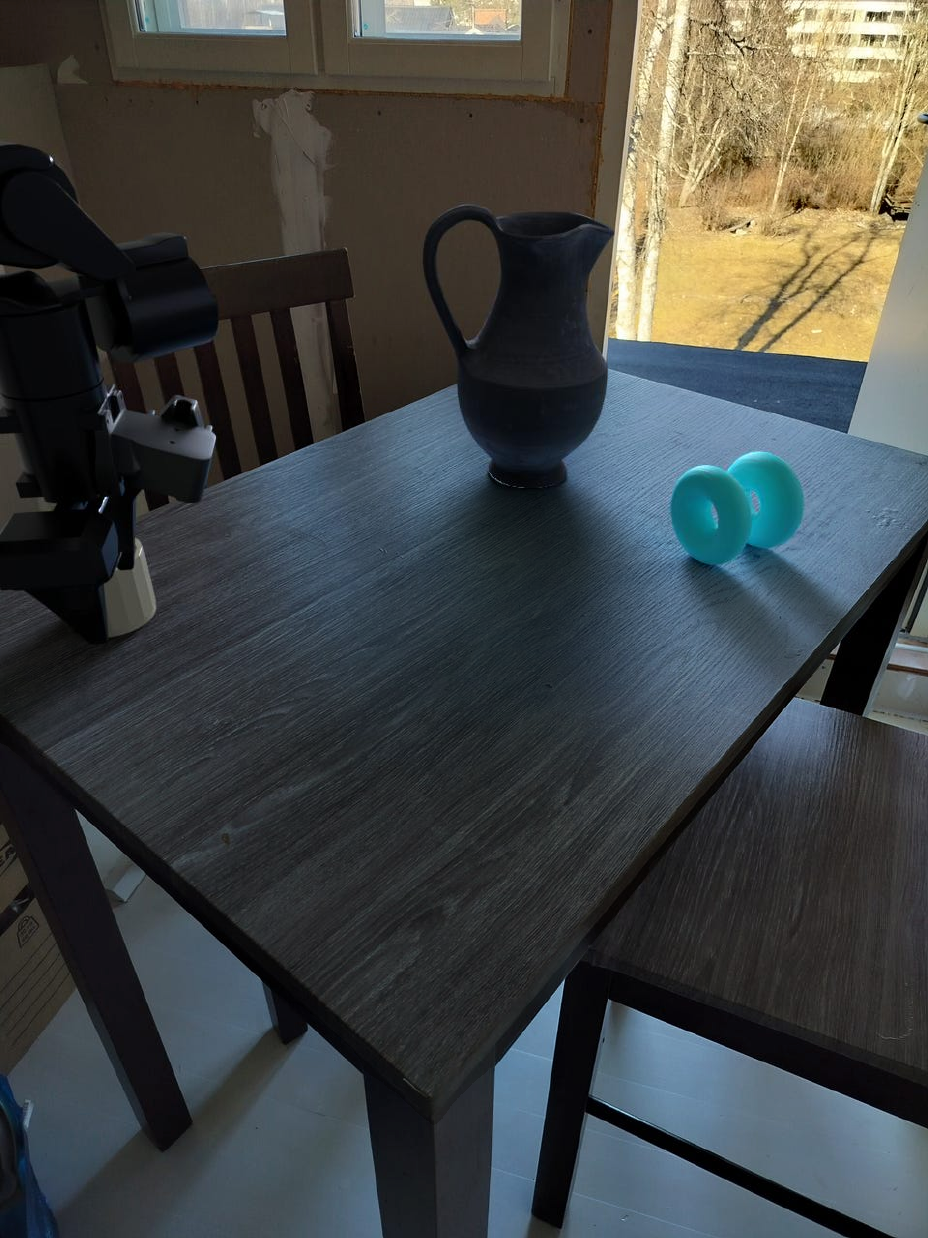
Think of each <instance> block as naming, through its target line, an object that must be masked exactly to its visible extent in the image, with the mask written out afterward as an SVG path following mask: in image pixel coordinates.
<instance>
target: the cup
mask: <svg viewBox="0 0 928 1238" xmlns="http://www.w3.org/2000/svg"><path fill="white" fill-rule="evenodd" d="M147 563H148V562H147V559H146V554H145V551H144V547H143V544H142V542H141V540H140V539H138V538H137V537H135V565H134V568H133V569H132V570H119V569H118V568H117V567H116V570H115V573H114V575H113V577H112V578H111V579H110V580H109V581H108V582H107V583H105V584H104V589H105V600H106V610H107V620H108V638H114V637H120V636H123V635H126V634H129V633H131V632H134V631H136V630H138V629H141V627H144V625H146V624H148V622H150V621H151V619H152V618H153V617H154V616H155V614H156V611H157V600H156V599H157V598H156V596H155V591H154V587H153V583H152V579H151V575H150V571H149V567H148V564H147Z"/></svg>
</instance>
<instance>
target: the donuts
mask: <svg viewBox="0 0 928 1238" xmlns="http://www.w3.org/2000/svg"><path fill="white" fill-rule="evenodd" d="M752 492H753V493H754V494H755V496H756V497H757V499H758V503H759V511H758V512H757V510H756V508H755V506H754V504H753V498H752ZM712 506H713V507H714V509H715V512H716V515H717V521H716V519H715V517H714V515H713V512H712V511H713V509H712ZM804 511H805V497H804V492H803V487H802V484H801V482H800V479H799V477H798V476H797V474H796V472H795V470H794V469H793V467H791V465H790V464H789V463H787V461H785V460H784V459H783V458H782V457H780V456H778V455H776V454H775V453H774V454H773V453H771V452H768V451H751V452H748V453H745V454H743V455H742V456H740V457H738V458H737V459H736V460H734V462H733V463H732V464H731V465H730V466H729V468H728V469H727V470H725V469H723V468H721V467H718V466H716V465H709V464H708V465H705V464H704V465H698V466H694V467H692V468H690V469H688V470H687V471H686V472H684V473H683V474H682V475H681V476H680V478H678V480H677V481H676V482H675V485H674V487H673V490H672V493H671V497H670V503H669V512H670V513H669V514H670V521H671V526H672V529H673V532H674V534H675V538H676V539H677V541H678V542H679V544H680V546H681V547H682V548H683V549H684V551H685V552H686V553H688V555H689V556H691V557H692V558H693V559H695V560H696V561H698V562H700V563H703V564H706V565H712V566H718V565H724V564H727V563H729V562H731V561H733V560H734V559H736V558H737V557H738V556H739V555H741V553H742V551H743V550H744V549H745V547H746V546H747V545H750V546H752V547H756V548H759V549H772V548H773V549H774V548H777V547H779V546H781V545H783V544H785V543H786V542H788V541H789V540H791V539H792V537H794V535H795V534H796V532H797V531H798V529H799V528H800V525H801V524H802V521H803V517H804Z"/></svg>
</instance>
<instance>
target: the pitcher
mask: <svg viewBox="0 0 928 1238" xmlns="http://www.w3.org/2000/svg"><path fill="white" fill-rule="evenodd" d="M464 221H472V222H473V221H474V222H480V223H481V224H483V225H485V226H486V227H487V228H488V229H489V230H490V231H491V234H492V236H493V237H494V239H495V240H494V241H495V242H496V246H497V247H496V248H497V252H498V258H499V267H500V275H499V277H500V278H499V283H498V288H497V291H496V295H495V297H494V300H493V302H492V305H491V308H490V311H489V313H488V315H487V317H486V320H485V321H484V323H483V325H482V327H481V329H480V331H479V332H478V334H477V335H476V336H475V337H474V338H473V339H471V340H467V339H466V338H465V336H464V334H463V332H462V330H461V329H460V326H459V324H458V322H457V321H456V318H455V316H454V313H453V311H452V308H451V307H450V305H449V303H448V300H447V298H446V295H445V292H444V290H443V288H442V285H441V283H440V279H439V274H438V269H437V252H438V249H439V244H440V243H441V242H440V241H441V240H442V238H443V236H444V235H445V234H446V233H447V232H448V231H449V230H450V229H452V228H454V227H455V226H456V225H458V224H460V223H462V222H464ZM613 236H615V229H614V228H613V227H611V226H610V225H608V224H606V223H604V222H602V221H599V220H597V219H594V218H592V217H589V216H586V215H585V214H584V215H583V214H580V213H576V212H570V211H527V212H518V213H517V212H515V213H509V214H503V215H499V216H495V214H494V213H492V212H491V211H490V209H489V208H487V207H484V206H481V205H476V204H462V205H458V206H455V207H452V208H450V209H448V210H446V211H444V212H443V213H441V214H440V215H439V216H438V217H437V218H436V219H435V220H434V221H433V222H432V223H431V225H430V226H429V228H428V230H427V232H426V234H425V238H424V242H423V249H422V269H423V275H424V279H425V283H426V287H427V289H428V292H429V296H430V299H431V301H432V304H433V306H434V308H435V310H436V313H437V315H438V317H439V320H440V323H441V324H442V326H443V329H444V331H445V332H446V336H447V337H448V339H449V341H450V344H451V346H452V349H453V351H454V354H455V358H456V363H457V375H456V377H457V379H456V385H457V387H456V388H457V399H458V404H459V409H460V413H461V416H462V419H463V422H464V425H465V427H466V428H467V430H468V432H469V434H470V436H471V437H472V439H473V440H474V442H475V443H476V444H477V445H478V446H479V447H480V448H481V449H482V450H483V451H484V452H485V453H486V455H487V456H488V457H489V458H491V460H490V462H489V463H488V466H489V472H490V473H491V474H492V476H493V477H494V478H496V479H497V480H499V481H501V482H502V483H505V484H508V485H510V486H516V487H524V488H540V487H541V489H543V488H542V487H546V486H550V485H553V484H556V483H558V482H559V483H561V482H562V481H563V480H564V479H565V478H566V477H567V475H568V468H567V466H566V464H565V461H564V459H565V458H566V457H568V456H569V455H570V454H572V453H573V452H575V450H577V449H578V448H579V447H580V446H581V445H582V444H584V442H585V441H587V439H588V438H589V437H590V435H591V434H592V432H593V430H594V429H595V427H596V425H597V423H598V422H599V419H600V416H602V412H603V409H604V404H605V399H606V396H607V389H608V379H609V366H608V363H607V360H605V357H604V356H603V354H602V352H601V351H600V349H599V348H598V347H597V344H596V342H595V340H594V337H593V334H592V331H591V326H590V322H589V318H588V317H589V316H588V311H587V299H586V298H587V297H586V295H587V294H586V289H587V288H586V287H587V283H588V280H589V278H590V274H591V272H592V270H593V268H595V267H594V266H595V264H596V263H597V261H598V260H599V258H600V256H601V254H602V253H603V251H604V249H605V248H606V247H607V245H608V244H609V241H610V240H611V239H612V238H613ZM566 474H567V475H566ZM561 480H562V481H561ZM560 481H561V482H560ZM559 483H558V484H559ZM556 485H557V484H556ZM553 486H554V485H553ZM550 487H551V486H550ZM546 488H547V487H546Z"/></svg>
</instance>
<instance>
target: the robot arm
mask: <svg viewBox="0 0 928 1238" xmlns="http://www.w3.org/2000/svg"><path fill="white" fill-rule="evenodd" d="M187 242H188V241H187V238H186V237H185V236H183V235H180V234H177V233H173V232H169V231H161V232H155V233H151V234H148V235H146V236H143V237H142V238H140V239H136V240H131V241H125V242H120V243H115V241H114V240H112V238H111V237H110V236H108V234H107V233H106V232H105V231H104V230H103V229H102V228H101V227H100V226H99V224H97V223H96V222H95V221H94V220H93V219H92V217H91V216H90V215H88V214H87V213H86V211H85V210H84V209H83V208H82V207H81V206H80V205H79V200H78V197H77V193H76V189H75V188H74V186H73V184H72V182H71V180H70V178H69V177H68V175H67V173H66V171H65V170H63V168H61V166H59V164H58V163H57V162H56V161H55V160H54V159H53V157H52V156H51V155H50V154H49V153H47V152H45V151H44V150H41V149H40V148H37V147H34V146H29V145H24V144H20V143H15V142H10V141H4V140H3V141H2V140H0V266H4V267H5V266H6V267H12V268H19V269H22V270H16V271H13V272H12V271H11V272H6V273H0V398H1V401H2V404H3V406H2V407H0V435H9V434H12V436H13V439H14V442H15V445H16V448H17V451H18V455H19V458H20V461H21V465H22V467H23V471H22V472H21V474H20V476H19V477H18V479H17V480H16V481H15V483H14V484H15V486H16V488H17V489H16V490H17V492H18V496H19V499H34V498H35V499H36V498H43V501H44V502H45V503H47V504H55V506H54V508H53V510H42V511H25V512H13V514H12V515H11V516H10V517H9V519H8V520H7V521H6V523H5V524H4V525H3V526H2V527H1V529H0V591H1V592H2V591H16V592H18V591H24V592H25V593H26V594H28V595H29V596H30V597H32V598H33V599H34V600H36V601H38V603H41V604H42V605H43V606H45V607H46V608H47V609H48V610H49V611H51V612H52V613H53V614H55V616H56V617H58V618H59V620H61V621H62V622H64V623H65V624H66V625H67V626H68V627H69V628H70V629H71V630H72V631H74V632H75V633H76V634H78V636H80V637H81V638H82V639H83V640H85V641H86V643H88V645H91V646H101V645H107V644H108V641H109V638H110V637H108V620H107V610H106V600H105V589H104V584H105V583H107V582H108V581H109V580H110V579H111V578H112V577H113V575H114V573H115V570H116V567H117V568H118V569H119V570H132V569H133V568H134V565H135V538H136V531H137V530H136V526H137V524H136V523H137V522H136V521H137V499H138V496H139V494H140V493H141V492H142V491H147V492H151V493H156V494H159V495H164V496H169V497H172V498H174V499H175V501H177V502H180V503H185V504H197V503H200V502H201V501H202V500H203V497H204V493H205V488H206V485H207V481H208V476H209V472H210V467H211V464H212V459H213V455H214V454H213V453H214V450H215V446H216V441H217V436H216V435H215V433H214V432H213V431H212V430H213V426H212V425H209V424H206V425H205V423H204V419H203V415H202V412H201V410H200V406H199V402H198V401H197V400H196V399H193V398H189V397H186V396H182V395H179V394H174V395H173V396H172V398H171V399H170V400H169V401H168V402H167V403H166V404H165V405H164V407H163V408H161V410H160V411H159V412H158V414H156V410H154V409H152V408H149V409H148V410H147V413H142V412H137V411H134V410H133V411H132V410H128V409H127V407H126V403H125V400H124V399H125V398H124V394H123V392H122V390H118V389H117V385H116V384H115V383H106V380H105V375H104V372H103V369H102V364H101V361H100V356H99V352H98V349H99V350H100V351H102V352H106V353H110V354H111V355H112V356H113V357H114V358H115V359H116V360H118V361H119V362H120V363H123V364H124V365H133V364H136V363H141V362H145V361H148V360H152V359H154V358H158V357H163V356H166V355H170V354H173V353H177V352H181V351H183V350H187V349H192V348H196V347H199V346H202V345H206V344H208V343H210V342H211V341H213V340H214V338H215V336H216V335H217V332H218V329H219V322H220V321H219V320H220V316H219V315H220V314H219V304H218V300H217V297H216V295H215V294H214V293H213V292H212V290H211V287H210V284H209V282H208V279H207V277H206V275H205V273H204V272H203V270H202V269H201V268H200V266H199V265H198V263H196V262H195V260H194V259H193V258H192V257H191V256H190V253H189V249H188V248H189V247H188V243H187ZM51 267H55V268H58V269H59V268H60V269H61V270H66V271H68V272H71V273H74V274H75V276H72V277H66V278H62V279H55V280H49V281H46V280H45V279H44V278H43V277H42V276H40V275H39V274H38V273H36V272H35V271H32V270H42V269H47V268H51Z"/></svg>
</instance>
